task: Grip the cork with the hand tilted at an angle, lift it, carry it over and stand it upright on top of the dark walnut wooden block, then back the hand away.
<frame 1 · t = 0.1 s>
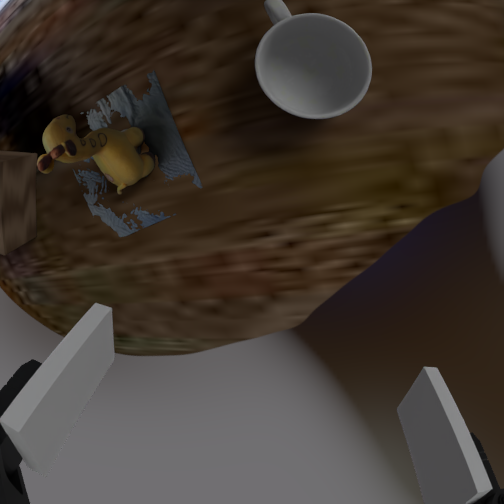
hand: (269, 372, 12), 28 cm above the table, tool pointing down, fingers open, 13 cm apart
walnut block: (9, 191, 40), on the table
stuffed giraffe: (126, 159, 38), on the table
teacup: (302, 64, 32), on the table
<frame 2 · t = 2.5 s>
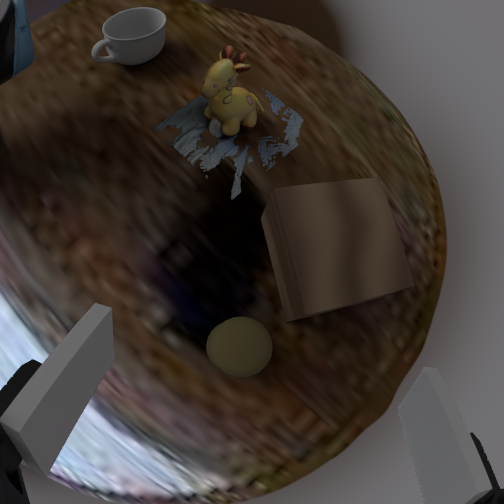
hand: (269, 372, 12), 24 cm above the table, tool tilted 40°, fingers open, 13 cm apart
walnut block: (322, 259, 40), on the table
stuffed giraffe: (236, 129, 44), on the table
cork: (233, 347, 35), on the table
teacup: (131, 59, 46), on the table
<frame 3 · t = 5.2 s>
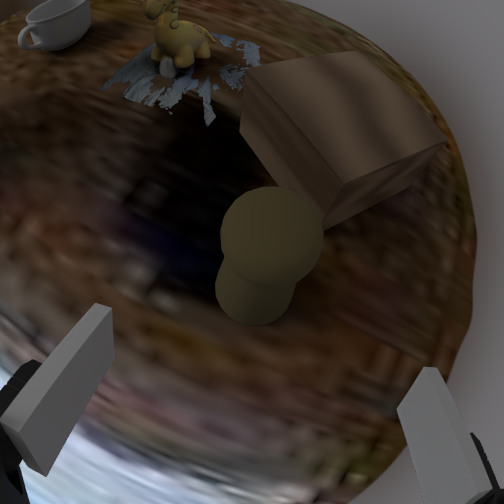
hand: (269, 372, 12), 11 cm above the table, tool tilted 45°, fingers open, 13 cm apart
walnut block: (328, 157, 31), on the table
stuffed giraffe: (190, 68, 35), on the table
cork: (254, 288, 25), on the table
teacup: (59, 46, 37), on the table
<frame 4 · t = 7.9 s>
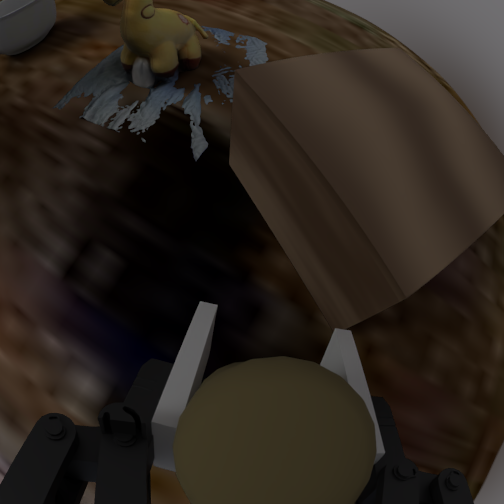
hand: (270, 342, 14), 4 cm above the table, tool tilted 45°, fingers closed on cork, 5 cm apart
walnut block: (357, 202, 21), on the table
stuffed giraffe: (174, 73, 26), on the table
cork: (247, 414, 16), on the table, touching gripper
teacup: (20, 49, 28), on the table
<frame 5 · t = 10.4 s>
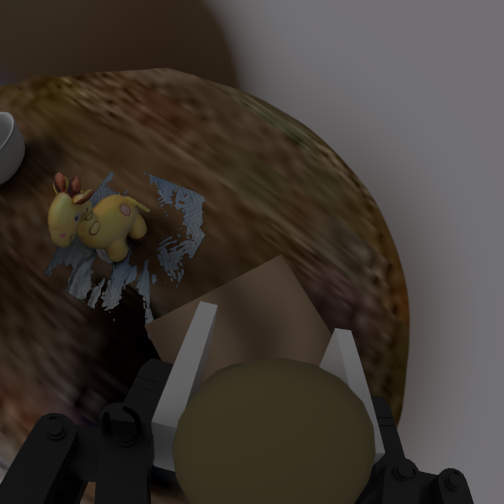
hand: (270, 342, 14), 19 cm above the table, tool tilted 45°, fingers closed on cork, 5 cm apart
walnut block: (247, 363, 32), on the table
stuffed giraffe: (129, 241, 36), on the table
cork: (247, 415, 16), point 16 cm above the table, touching gripper
teacup: (1, 175, 38), on the table
when the fingers open (13 cm above the table, at t = 12.8 s): cork drops 1 cm, resting on walnut block.
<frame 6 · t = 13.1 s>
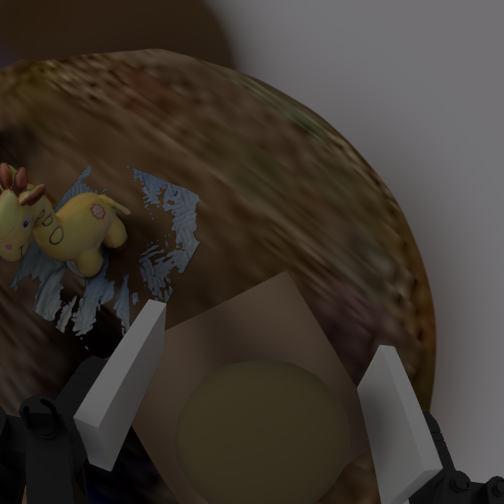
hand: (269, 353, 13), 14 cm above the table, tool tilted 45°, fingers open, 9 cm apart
walnut block: (239, 402, 24), on the table
stuffed giraffe: (106, 250, 29), on the table
cork: (242, 411, 17), point 8 cm above the table, touching walnut block
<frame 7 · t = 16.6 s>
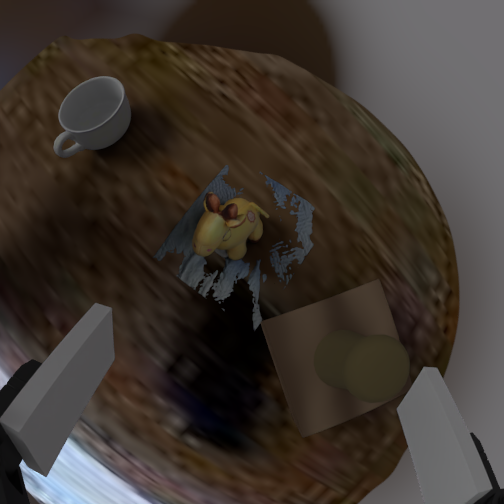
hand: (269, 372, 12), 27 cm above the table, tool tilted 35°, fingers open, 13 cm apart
walnut block: (326, 354, 38), on the table
stuffed giraffe: (242, 238, 42), on the table
cork: (342, 358, 30), point 8 cm above the table, touching walnut block
teacup: (101, 137, 46), on the table
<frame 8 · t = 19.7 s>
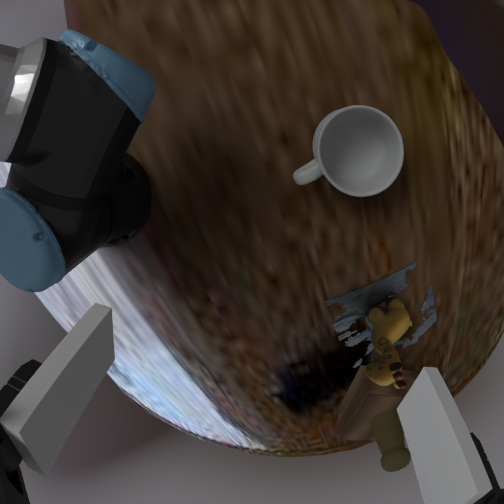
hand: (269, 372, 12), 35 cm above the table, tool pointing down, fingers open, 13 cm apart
walnut block: (377, 391, 57), on the table
stuffed giraffe: (386, 316, 51), on the table
cork: (385, 419, 49), point 8 cm above the table, touching walnut block
teacup: (337, 150, 42), on the table
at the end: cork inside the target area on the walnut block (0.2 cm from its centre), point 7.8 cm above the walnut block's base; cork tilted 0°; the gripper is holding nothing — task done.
